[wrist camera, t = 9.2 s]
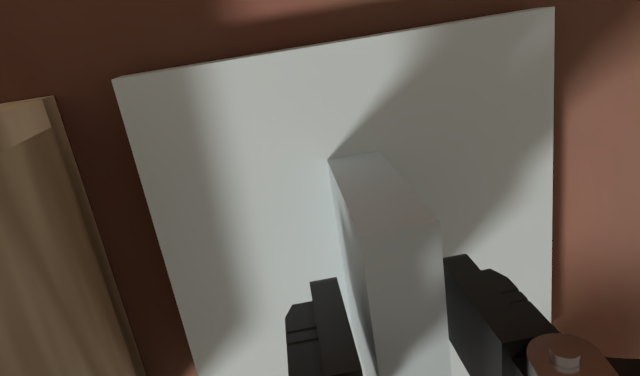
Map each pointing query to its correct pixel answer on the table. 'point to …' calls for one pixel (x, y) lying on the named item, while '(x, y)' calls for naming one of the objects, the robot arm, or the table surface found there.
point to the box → (53, 258)
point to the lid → (349, 184)
